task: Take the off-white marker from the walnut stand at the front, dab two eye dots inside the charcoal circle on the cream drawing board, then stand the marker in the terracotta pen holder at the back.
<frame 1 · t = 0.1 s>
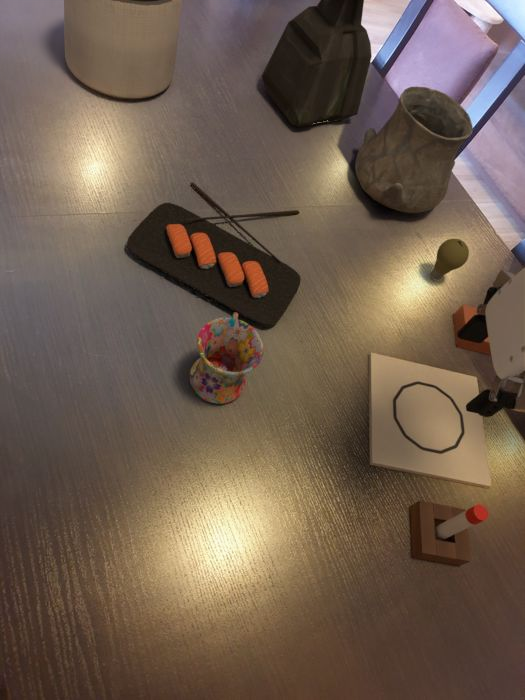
hand: (472, 373, 64), 27 cm above the table, tool pointing down, fingers open, 9 cm apart
marker: (456, 524, 77), in the marker stand
bottle: (305, 107, 131), on the table
sushi plate: (233, 242, 103), on the table
planter: (120, 71, 120), on the table
board: (425, 419, 93), on the table
pen holder: (472, 335, 106), on the table
light bulb: (433, 278, 111), on the table
vessel: (387, 188, 123), on the table
marker stand: (434, 535, 82), on the table
mug: (217, 374, 87), on the table
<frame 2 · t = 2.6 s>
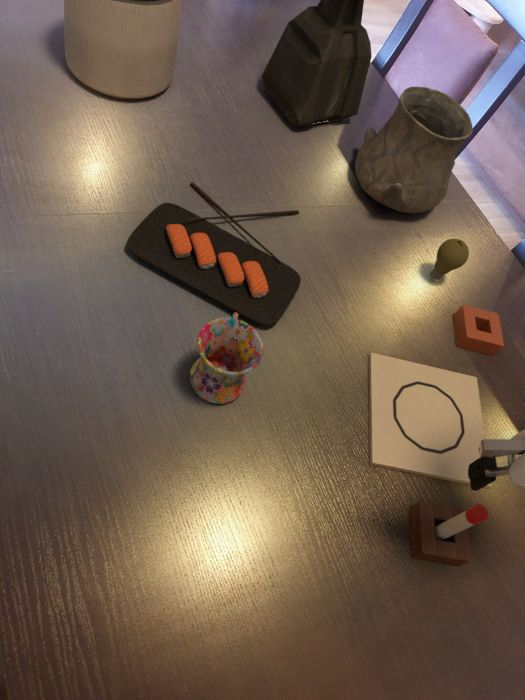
hand: (508, 486, 67), 19 cm above the table, tool pointing down, fingers open, 9 cm apart
nothing on the table moved.
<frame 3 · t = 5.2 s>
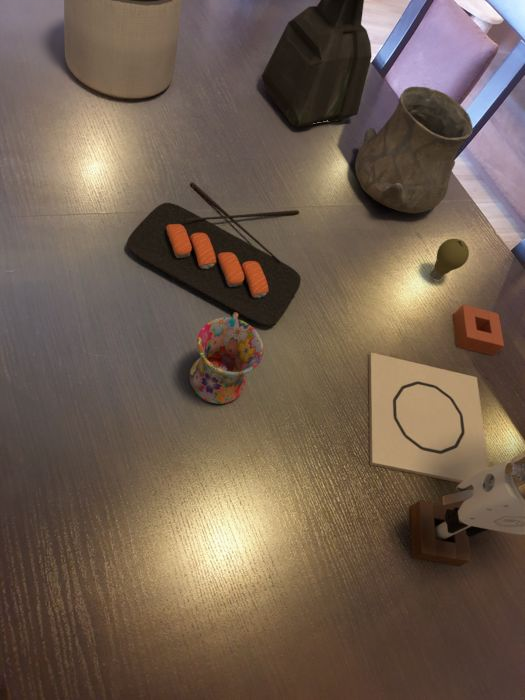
hand: (458, 523, 77), 7 cm above the table, tool pointing down, fingers closed on marker, 2 cm apart
marker: (456, 524, 77), in the marker stand, touching gripper
everything else where it was.
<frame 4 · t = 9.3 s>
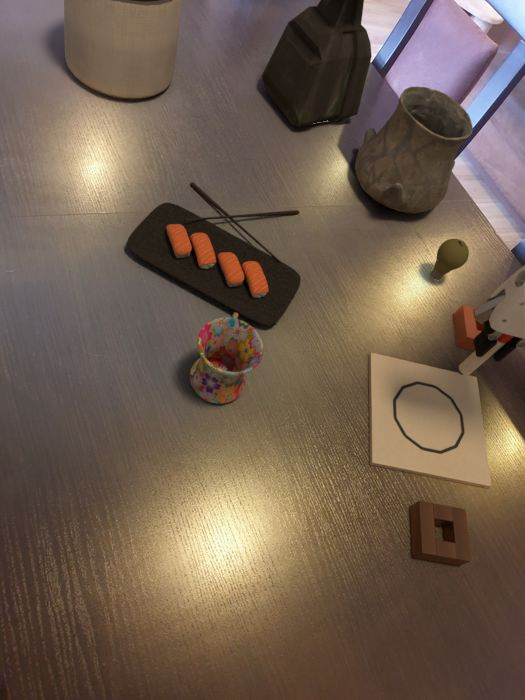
hand: (486, 350, 79), 18 cm above the table, tool pointing down, fingers closed on marker, 2 cm apart
marker: (484, 352, 80), point 17 cm above the table, touching gripper
everything else where it was.
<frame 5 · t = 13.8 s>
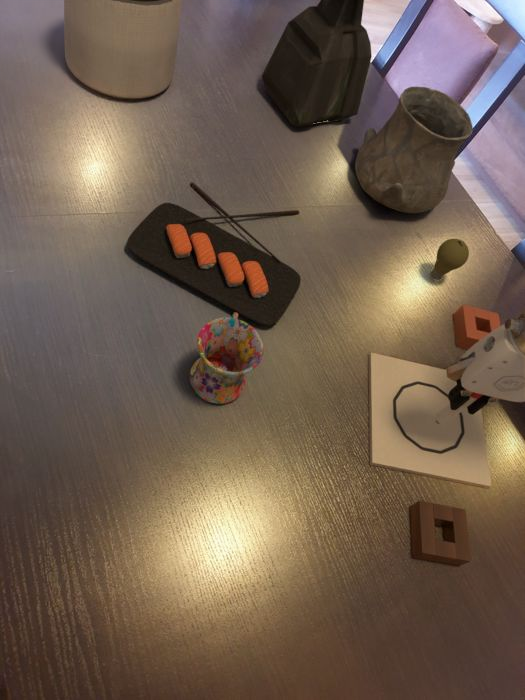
hand: (460, 403, 83), 10 cm above the table, tool pointing down, fingers closed on marker, 2 cm apart
marker: (458, 404, 83), point 10 cm above the table, touching gripper
everything else where it was.
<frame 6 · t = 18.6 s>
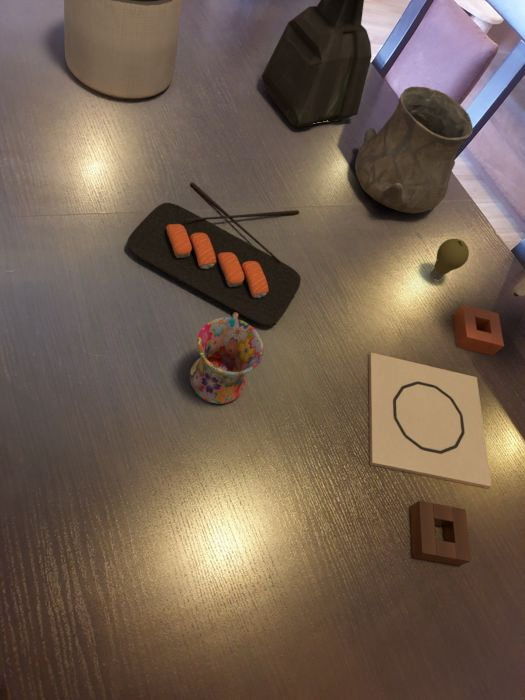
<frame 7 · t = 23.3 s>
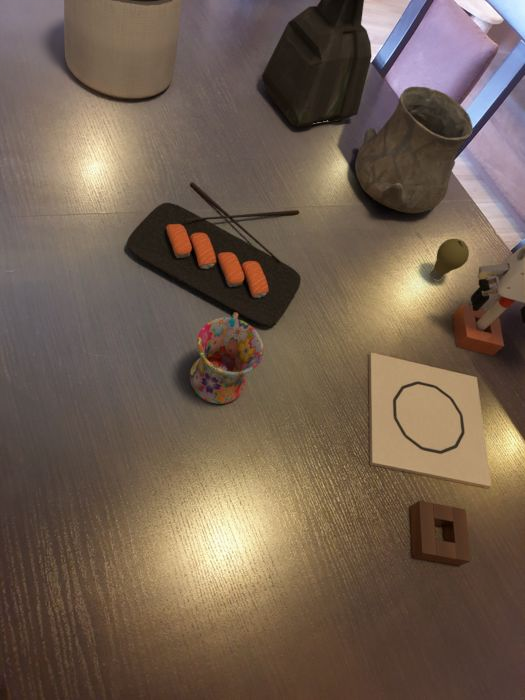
hand: (498, 310, 99), 8 cm above the table, tool pointing down, fingers open, 9 cm apart
marker: (490, 316, 101), in the pen holder
everything else where it was.
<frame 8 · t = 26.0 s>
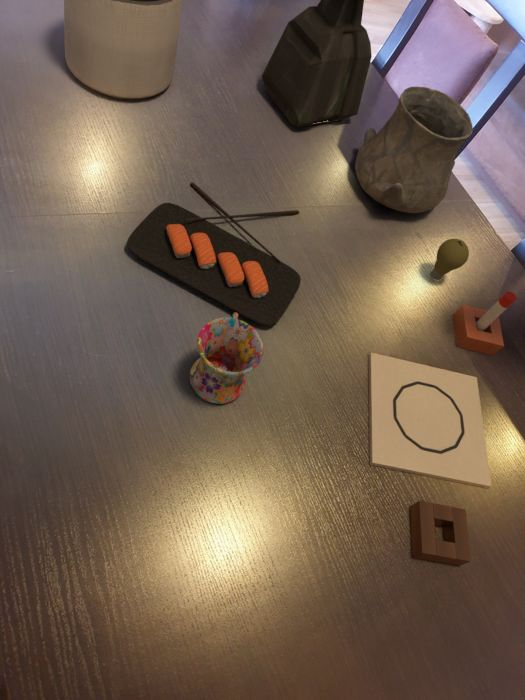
nothing on the table moved.
at the end: marker 0.2 cm off-centre in the pen holder, point 6.0 cm above the pen holder's base; marker tilted 0°; the gripper is holding nothing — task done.
